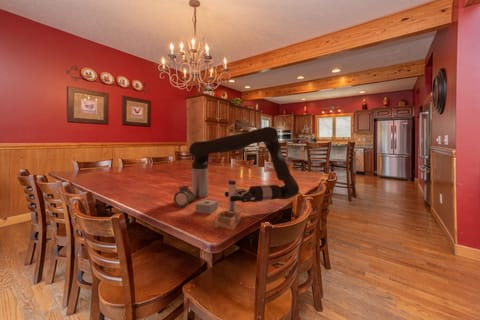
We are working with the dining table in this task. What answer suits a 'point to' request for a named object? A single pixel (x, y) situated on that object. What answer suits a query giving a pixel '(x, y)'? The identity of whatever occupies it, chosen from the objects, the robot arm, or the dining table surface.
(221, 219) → the wooden square box frame
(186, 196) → the pipe fitting
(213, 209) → the block
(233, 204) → the pin
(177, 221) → the dining table surface
